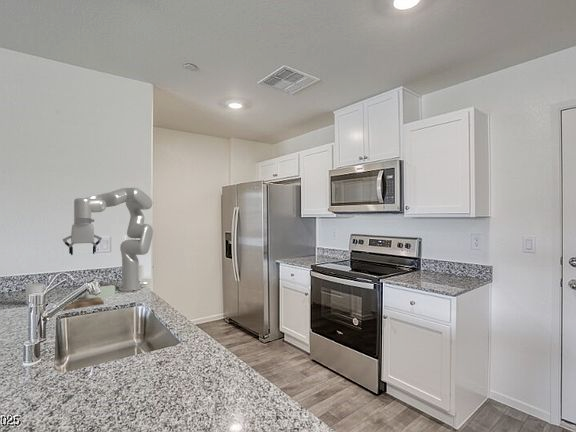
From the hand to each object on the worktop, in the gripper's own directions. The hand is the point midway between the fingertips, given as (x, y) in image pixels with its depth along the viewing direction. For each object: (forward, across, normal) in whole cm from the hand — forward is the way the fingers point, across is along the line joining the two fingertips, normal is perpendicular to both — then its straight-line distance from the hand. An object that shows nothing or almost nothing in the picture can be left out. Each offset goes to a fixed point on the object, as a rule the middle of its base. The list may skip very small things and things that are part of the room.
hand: (82, 254), depth 166 cm
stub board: (+26, +2, +1) cm, 26 cm away
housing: (+26, -8, -13) cm, 31 cm away
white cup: (+26, +22, -17) cm, 39 cm away
